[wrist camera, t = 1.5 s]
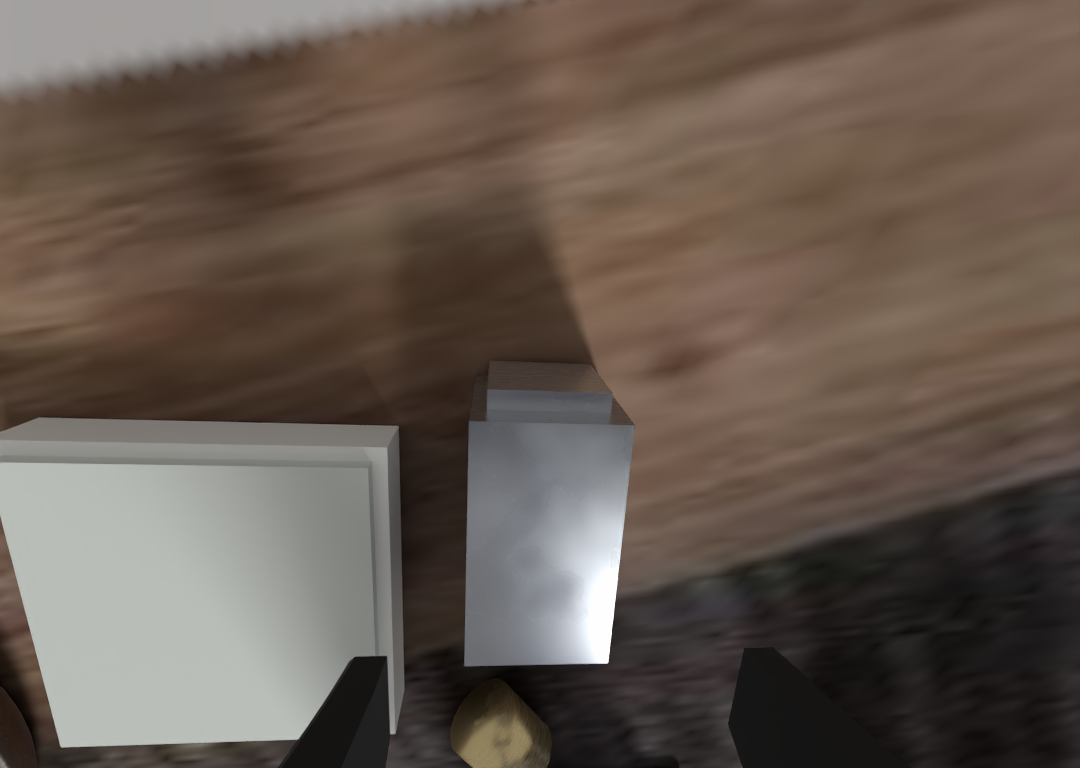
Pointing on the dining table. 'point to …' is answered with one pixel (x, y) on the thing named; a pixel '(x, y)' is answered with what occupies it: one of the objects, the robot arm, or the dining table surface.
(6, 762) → the plant saucer
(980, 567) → the dining table surface
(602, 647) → the block
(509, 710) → the yellow rounded lump
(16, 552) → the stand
